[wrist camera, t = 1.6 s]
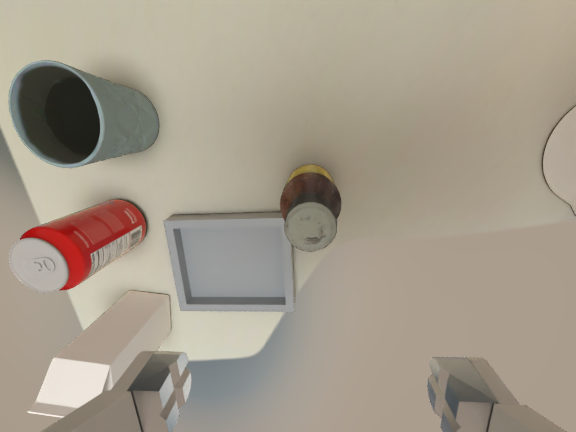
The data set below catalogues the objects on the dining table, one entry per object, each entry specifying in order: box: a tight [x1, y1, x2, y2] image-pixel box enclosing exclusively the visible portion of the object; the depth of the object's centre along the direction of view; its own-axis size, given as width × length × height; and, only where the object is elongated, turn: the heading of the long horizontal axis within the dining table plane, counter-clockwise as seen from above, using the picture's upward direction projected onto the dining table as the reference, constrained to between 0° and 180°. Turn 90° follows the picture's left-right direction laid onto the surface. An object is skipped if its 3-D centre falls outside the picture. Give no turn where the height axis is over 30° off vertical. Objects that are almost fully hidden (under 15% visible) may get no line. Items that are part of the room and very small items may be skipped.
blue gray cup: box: [9, 60, 159, 168], centre depth 34 cm, size 10×10×12 cm
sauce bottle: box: [280, 164, 341, 252], centre depth 31 cm, size 7×6×20 cm
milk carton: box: [27, 290, 171, 418], centre depth 40 cm, size 7×7×19 cm
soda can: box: [9, 199, 146, 293], centre depth 37 cm, size 8×8×15 cm
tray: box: [163, 212, 295, 312], centre depth 43 cm, size 18×15×3 cm
